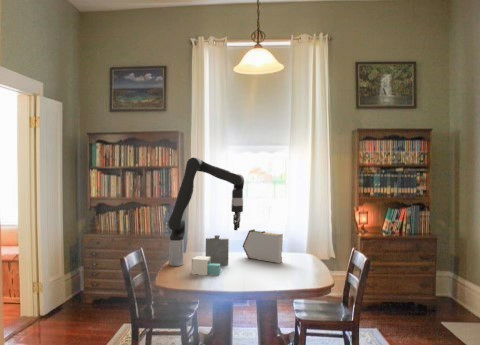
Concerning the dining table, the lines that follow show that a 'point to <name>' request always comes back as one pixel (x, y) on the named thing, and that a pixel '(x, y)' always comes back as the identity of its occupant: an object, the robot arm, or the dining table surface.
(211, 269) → the teal rectangular block
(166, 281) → the dining table surface
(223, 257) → the hip flask
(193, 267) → the cream rectangular block
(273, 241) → the model house
